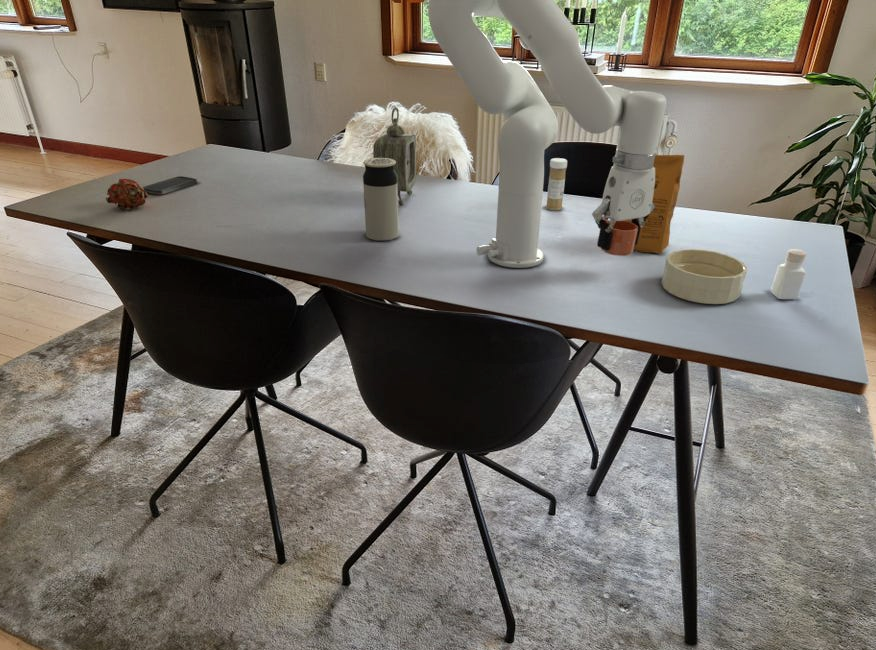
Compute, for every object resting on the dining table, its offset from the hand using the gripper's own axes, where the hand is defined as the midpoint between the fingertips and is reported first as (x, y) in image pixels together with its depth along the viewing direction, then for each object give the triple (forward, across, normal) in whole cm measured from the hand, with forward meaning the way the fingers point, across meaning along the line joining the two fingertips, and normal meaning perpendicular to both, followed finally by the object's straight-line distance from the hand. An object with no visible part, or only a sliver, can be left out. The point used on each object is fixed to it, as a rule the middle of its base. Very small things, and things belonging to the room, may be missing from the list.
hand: (617, 245), depth 132 cm
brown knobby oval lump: (+11, -86, +95) cm, 129 cm away
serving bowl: (+6, +11, -15) cm, 19 cm away
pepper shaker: (+6, +24, -25) cm, 35 cm away
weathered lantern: (+9, -18, +70) cm, 73 cm away
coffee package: (+7, +19, +10) cm, 22 cm away
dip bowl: (+1, 0, 0) cm, 1 cm away
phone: (+11, -73, +111) cm, 134 cm away
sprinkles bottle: (+8, +18, +43) cm, 47 cm away
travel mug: (+9, -34, +44) cm, 57 cm away
